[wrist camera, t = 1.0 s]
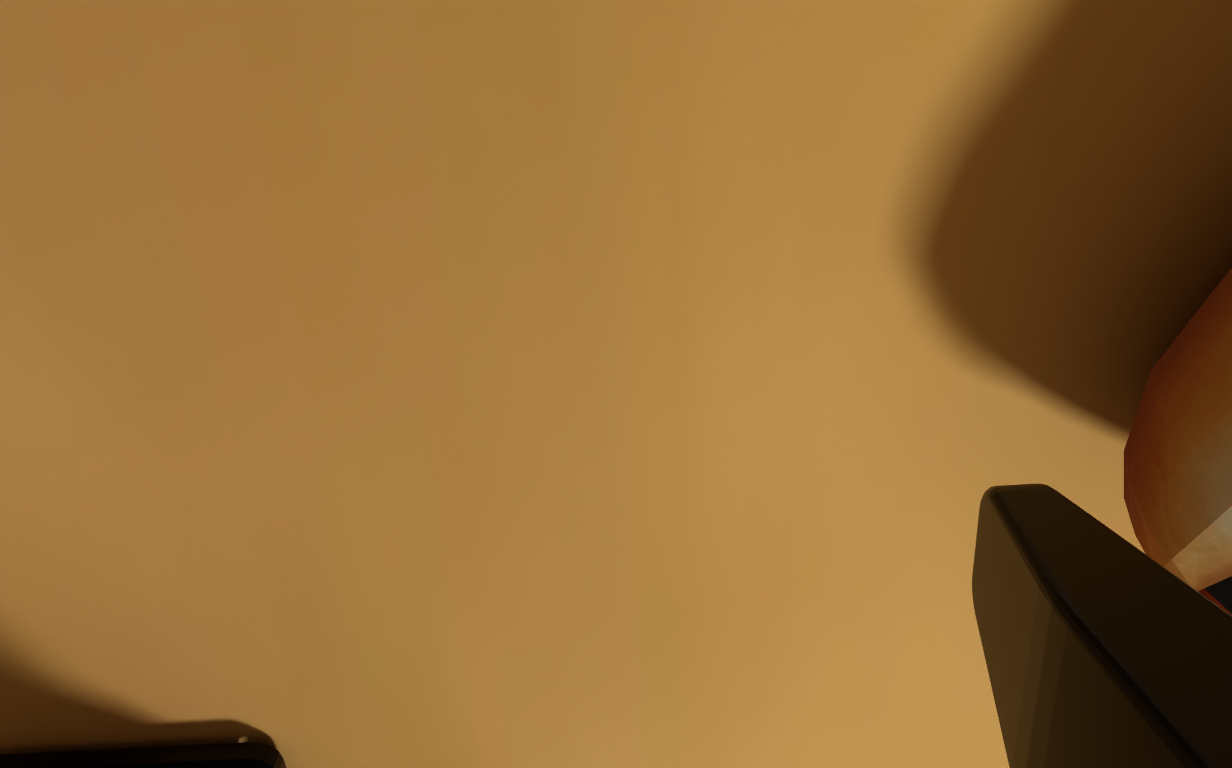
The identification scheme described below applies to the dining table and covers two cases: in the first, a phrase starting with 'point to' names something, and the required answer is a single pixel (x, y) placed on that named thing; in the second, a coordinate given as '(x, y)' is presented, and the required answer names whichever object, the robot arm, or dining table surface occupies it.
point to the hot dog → (1188, 454)
